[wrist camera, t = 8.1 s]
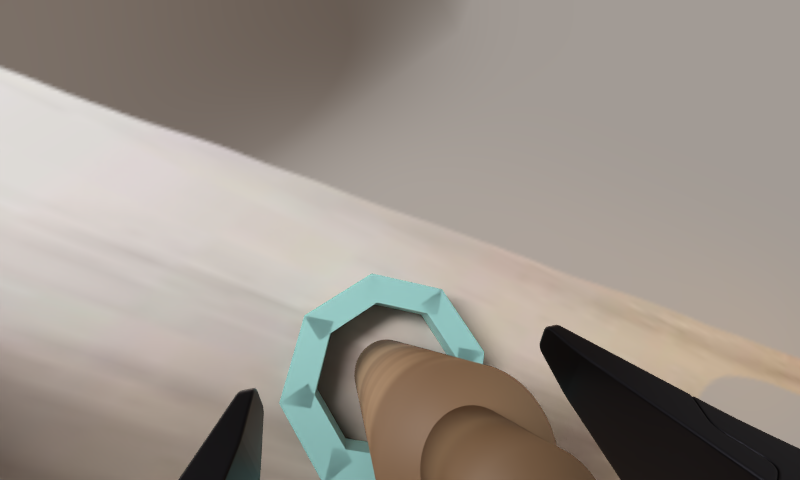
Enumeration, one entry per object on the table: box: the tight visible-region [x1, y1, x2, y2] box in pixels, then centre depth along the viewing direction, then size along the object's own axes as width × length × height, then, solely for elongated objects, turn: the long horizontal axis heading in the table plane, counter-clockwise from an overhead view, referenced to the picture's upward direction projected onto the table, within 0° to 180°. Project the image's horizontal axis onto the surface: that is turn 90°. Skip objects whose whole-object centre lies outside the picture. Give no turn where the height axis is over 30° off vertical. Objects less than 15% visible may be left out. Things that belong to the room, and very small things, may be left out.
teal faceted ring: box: [279, 274, 484, 480], centre depth 16 cm, size 10×10×2 cm
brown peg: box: [355, 340, 596, 480], centre depth 10 cm, size 4×4×14 cm
